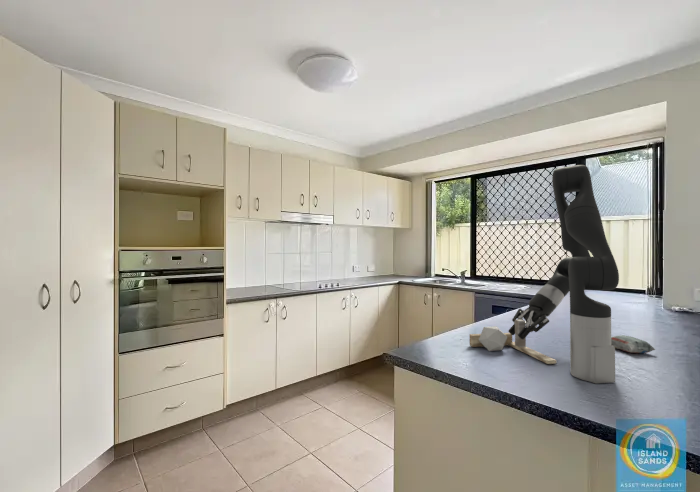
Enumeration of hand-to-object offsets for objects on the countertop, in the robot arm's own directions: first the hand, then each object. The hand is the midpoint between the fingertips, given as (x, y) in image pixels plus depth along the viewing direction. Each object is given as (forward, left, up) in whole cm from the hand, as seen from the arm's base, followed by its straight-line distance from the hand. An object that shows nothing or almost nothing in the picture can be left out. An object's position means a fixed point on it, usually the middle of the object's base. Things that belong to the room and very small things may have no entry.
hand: (515, 335), depth 115 cm
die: (+2, +8, -5) cm, 9 cm away
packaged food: (-6, -38, -6) cm, 38 cm away
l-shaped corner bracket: (-4, +5, -5) cm, 8 cm away
